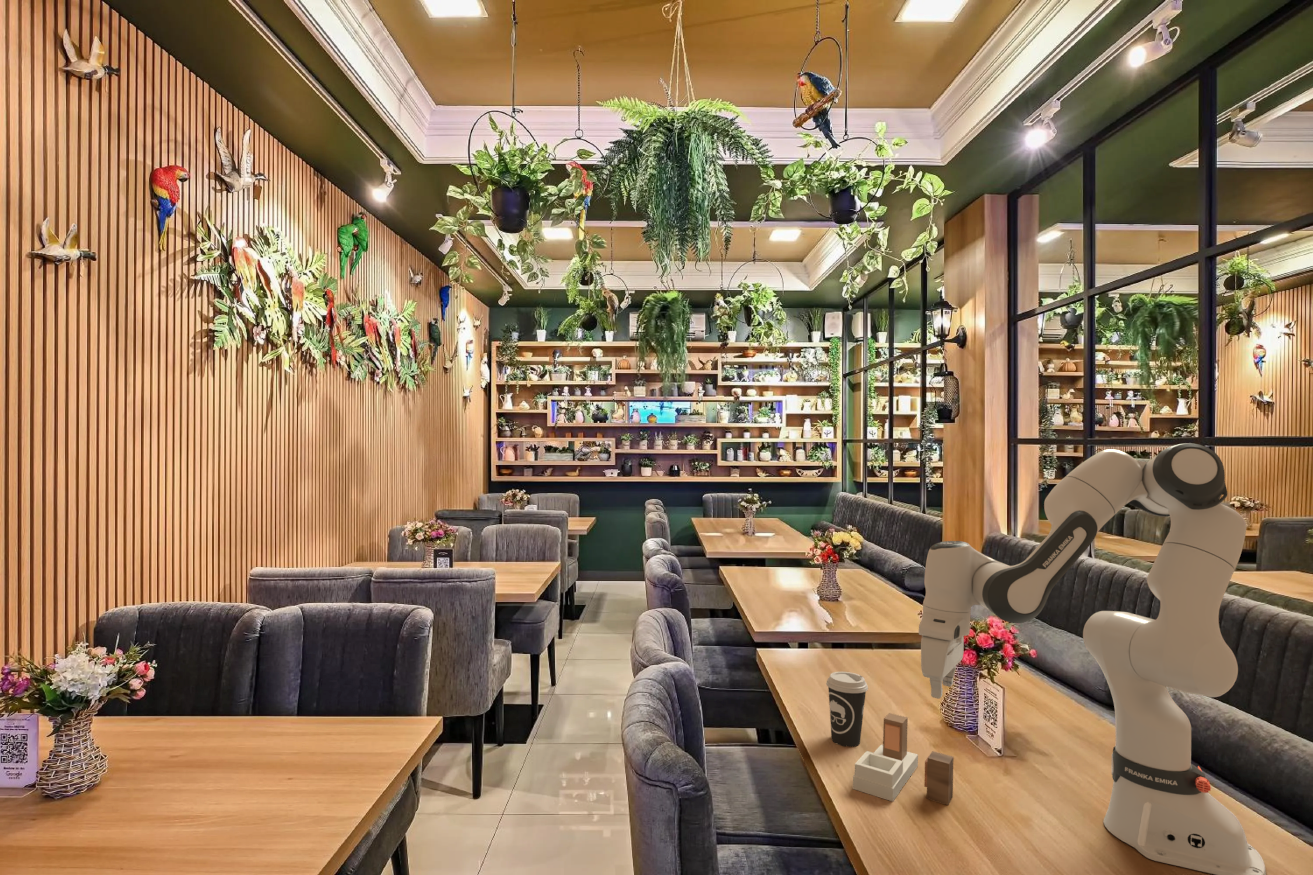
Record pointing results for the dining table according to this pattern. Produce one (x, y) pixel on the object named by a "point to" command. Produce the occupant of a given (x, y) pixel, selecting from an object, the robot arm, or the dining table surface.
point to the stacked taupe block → (939, 777)
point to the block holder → (886, 762)
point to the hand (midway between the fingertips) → (942, 691)
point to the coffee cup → (846, 707)
